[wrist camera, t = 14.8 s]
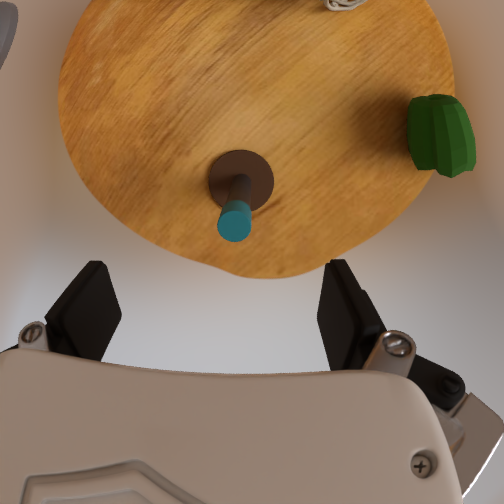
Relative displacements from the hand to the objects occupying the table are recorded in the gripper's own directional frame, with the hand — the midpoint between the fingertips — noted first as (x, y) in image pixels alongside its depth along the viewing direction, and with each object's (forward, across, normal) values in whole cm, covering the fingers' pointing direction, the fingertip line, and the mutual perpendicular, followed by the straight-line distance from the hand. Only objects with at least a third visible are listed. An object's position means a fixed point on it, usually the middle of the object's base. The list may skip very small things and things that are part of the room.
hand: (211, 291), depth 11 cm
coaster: (+20, -1, 0) cm, 20 cm away
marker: (+20, -1, 0) cm, 20 cm away
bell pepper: (+15, -20, -11) cm, 28 cm away
